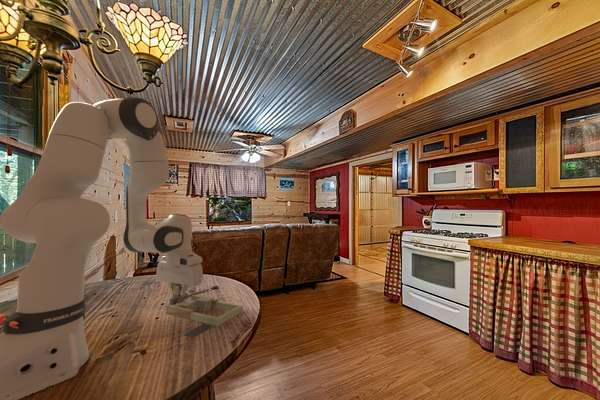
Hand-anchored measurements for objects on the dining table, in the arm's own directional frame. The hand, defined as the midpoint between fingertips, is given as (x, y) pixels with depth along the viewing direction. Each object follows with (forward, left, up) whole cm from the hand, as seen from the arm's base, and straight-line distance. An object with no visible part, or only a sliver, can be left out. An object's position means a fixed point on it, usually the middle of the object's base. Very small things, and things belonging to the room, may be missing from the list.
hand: (178, 294), depth 95 cm
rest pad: (-11, -22, -5) cm, 25 cm away
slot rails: (0, -8, -5) cm, 9 cm away
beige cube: (+2, -11, -5) cm, 12 cm away
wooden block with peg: (0, 0, -3) cm, 3 cm away
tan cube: (-3, -8, -5) cm, 9 cm away
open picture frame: (0, -19, -5) cm, 19 cm away
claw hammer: (+15, +4, -5) cm, 16 cm away
